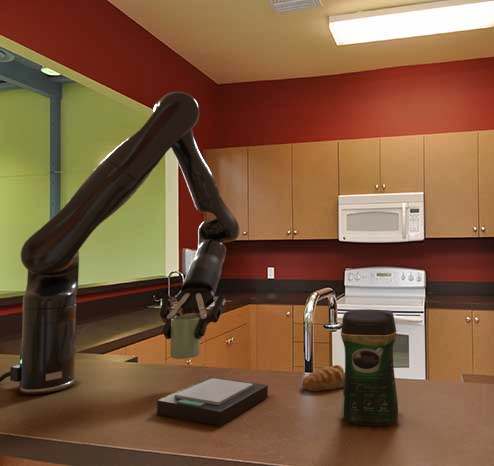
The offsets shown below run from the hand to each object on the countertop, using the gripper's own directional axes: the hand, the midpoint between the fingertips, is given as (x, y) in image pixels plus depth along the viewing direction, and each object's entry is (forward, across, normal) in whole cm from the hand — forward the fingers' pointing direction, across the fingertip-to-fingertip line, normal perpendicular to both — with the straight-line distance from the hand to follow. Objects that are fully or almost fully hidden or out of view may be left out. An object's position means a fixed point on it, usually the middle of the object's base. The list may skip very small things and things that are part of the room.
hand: (182, 336), depth 85 cm
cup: (+2, 0, +4) cm, 5 cm away
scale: (+14, +10, +2) cm, 17 cm away
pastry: (+7, +30, +9) cm, 32 cm away
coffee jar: (+18, +39, -3) cm, 43 cm away
